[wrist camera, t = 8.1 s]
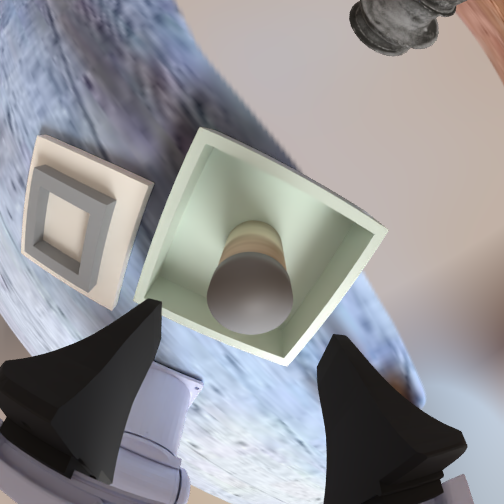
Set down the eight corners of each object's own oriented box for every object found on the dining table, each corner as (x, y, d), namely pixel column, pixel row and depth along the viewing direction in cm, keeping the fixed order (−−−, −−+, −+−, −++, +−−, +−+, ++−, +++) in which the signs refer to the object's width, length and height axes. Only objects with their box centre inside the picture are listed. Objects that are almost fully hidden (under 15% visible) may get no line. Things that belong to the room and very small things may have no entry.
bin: (284, 334, 24) (287, 366, 20) (151, 274, 22) (132, 300, 18) (367, 212, 19) (388, 230, 15) (212, 129, 17) (199, 126, 13)
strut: (289, 265, 20) (301, 324, 14) (235, 279, 21) (224, 341, 14) (274, 211, 19) (280, 251, 12) (216, 228, 19) (193, 275, 13)
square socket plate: (117, 303, 23) (104, 320, 21) (28, 248, 21) (12, 259, 19) (154, 182, 19) (139, 190, 16) (46, 134, 17) (25, 136, 14)
